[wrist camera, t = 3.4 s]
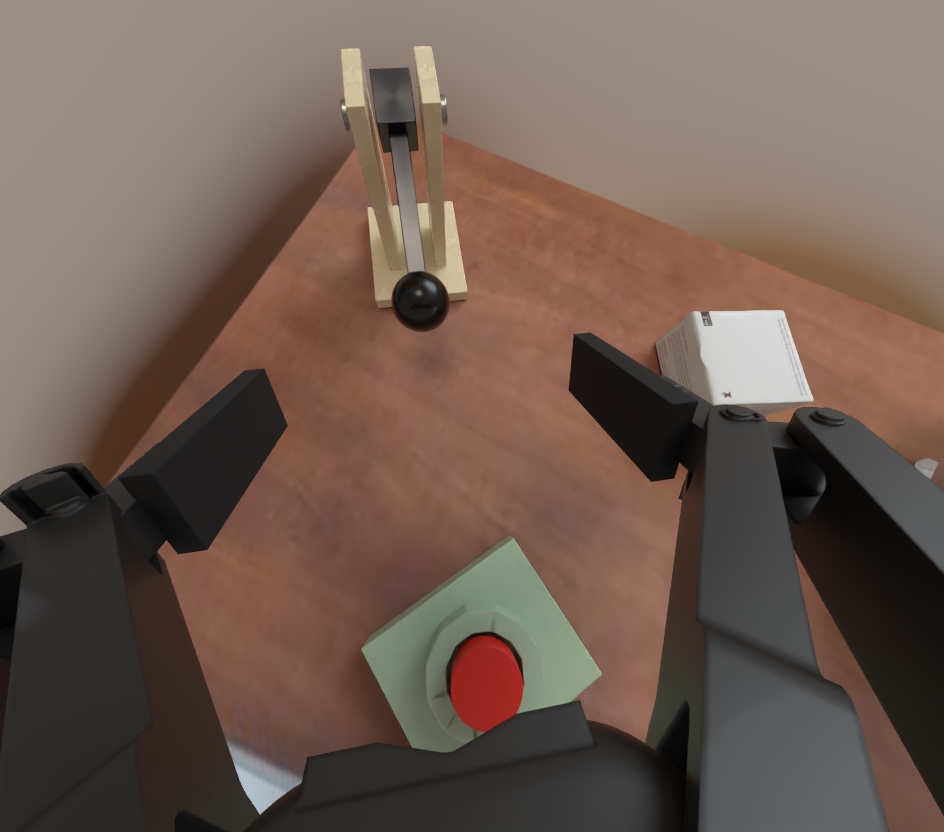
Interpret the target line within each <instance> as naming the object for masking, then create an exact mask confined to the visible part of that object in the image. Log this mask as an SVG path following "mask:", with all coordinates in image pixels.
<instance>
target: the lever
mask: <svg viewBox="0 0 944 832" xmlns="http://www.w3.org/2000/svg"><path fill="white" fill-rule="evenodd" d="M370 79H371V86H372V92H373V100H374V107H375V115H376V122H377V127H378V131H379V135H380V139H381V144H382V148H383V152H384V153H388V152H391V154H392V162H393V169H394V176H395V184H396V191H397V198H398V206H399V213H400V220H401V228H402V235H403V243H404V250H405V257H406V265H407V272H408V274H406V275H404V276H403V277H401V278H400V279H399V280H398V282H397V283H396V285H395V286H394V289H393V292H392V297H391V303H392V308H393V311H394V314H395V316H396V317H397V319H398V320H399V321H400V323H402V324H403V325H404V326H405V327H407V328H408V329H410V330H413V331H417V332H427V331H431V330H433V329H435V328H437V327H438V326H440V325H441V324H442V323H443V321H444V320H445V318H446V316H447V314H448V311H449V306H450V300H449V294H448V291H447V289H446V287H445V286H444V284H443V283H442V282H441V280H440V279H439V278H437V277H436V276H435V275H433V274H431V273H428V272H426V269H425V262H424V254H423V246H422V239H421V231H420V223H419V216H418V208H417V200H416V193H415V185H414V177H413V170H412V162H411V154H410V151H418V138H417V126H416V118H415V109H414V102H413V93H412V86H411V78H410V70H409V68H386V69H370Z"/></svg>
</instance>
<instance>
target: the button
mask: <svg viewBox="0 0 944 832" xmlns="http://www.w3.org/2000/svg"><path fill="white" fill-rule="evenodd" d="M522 697H523V680H522V676H521V672H520V670H519V667H518V665H517V662H516V660H515V657H514V655H513V653H512V651H511V650H510V648H509V647H508V646H507V645H506V644H505V643H504V642H503V641H501V640H500V639H498V638H496V637H493V636H489V635H481V636H476V637H473V638H471V639H469V640H468V641H466V642H465V643H464V644H463V645H462V646H461V647H460V648H459V650H458V651H457V653H456V655H455V657H454V660H453V663H452V668H451V699H452V703H453V706H454V709H455V711H456V713H457V715H458V716H459V718H460V719H461V720H462V721H463V722H464V723H465V724H466V725H467V726H469V727H470V728H472V729H474V730H477V731H480V732H486V731H488V730H490V729H491V728H493V727H495V726H496V725H498V724H500V723H501V722H503V721H505V720H506V719H508V718H510V717H512V716H513V715H515V714H516V713H517V712H518V710H519V707H520V705H521V702H522Z"/></svg>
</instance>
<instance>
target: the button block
mask: <svg viewBox="0 0 944 832" xmlns="http://www.w3.org/2000/svg"><path fill="white" fill-rule="evenodd" d="M481 635H489V636H493V637H496V638H498V639H500V640H501V641H503V642H504V643H505V644H506V645H507V646H508V647H509V648H510V650H511V651H512V653H513V655H514V657H515V660H516V662H517V665H518V667H519V670H520V672H521V676H522V680H523V697H522V702H521V705H520V707H519V710H518V712H517V713H521V712H526V711H531V710H536V709H541V708H545V707H550V706H555V705H560V704H564V703H569V702H571V701H572V700H573V699H574V698H575V697H577V696H578V695H579V694H580V693H581V692H582V691H583V690H585V689H586V688H587V687H588V686H589V685H590V684H591V683H593V682H594V681H595V680H596V679H597V678H598V677H599V676H601V671H600V670H599V668H598V667H597V665H596V664H595V662H594V661H593V659H592V658H591V656H590V654H589V653H588V651H587V650H586V648H585V647H584V645H583V644H582V642H581V641H580V639H579V638H578V636H577V635H576V633H575V631H574V630H573V628H572V627H571V625H570V624H569V622H568V621H567V619H566V618H565V616H564V615H563V613H562V611H561V610H560V608H559V607H558V605H557V604H556V602H555V601H554V599H553V598H552V596H551V595H550V593H549V592H548V590H547V588H546V587H545V585H544V584H543V582H542V581H541V579H540V578H539V576H538V575H537V573H536V572H535V570H534V569H533V567H532V565H531V564H530V562H529V561H528V559H527V558H526V556H525V555H524V553H523V552H522V550H521V549H520V547H519V545H518V544H517V542H516V541H515V539H514V538H512V537H510V536H507V537H505V538H504V539H503V540H501V541H500V542H498V543H497V544H496V545H494V546H493V547H492V548H490V549H489V550H487V551H486V552H485V553H483V554H482V555H480V556H479V557H478V558H476V559H475V560H474V561H472V562H471V563H469V564H468V565H467V566H465V567H464V568H463V569H461V570H460V571H458V572H457V573H456V574H454V575H453V576H451V577H450V578H449V579H447V580H446V581H445V582H443V583H442V584H440V585H439V586H438V587H436V588H435V589H434V590H432V591H431V592H429V593H428V594H427V595H425V596H424V597H422V598H421V599H420V600H418V601H417V602H416V603H414V604H413V605H411V606H410V607H409V608H407V609H406V610H405V611H403V612H402V613H400V614H399V615H398V616H396V617H395V618H393V619H392V620H391V621H389V622H388V623H387V624H385V625H384V626H382V627H381V628H380V629H378V630H377V631H375V632H374V633H373V634H371V635H370V636H369V638H368V639H367V641H366V642H365V644H364V645H363V647H362V648H361V650H362V652H363V654H364V656H365V658H366V660H367V662H368V664H369V666H370V668H371V670H372V672H373V674H374V675H375V677H376V679H377V681H378V683H379V685H380V687H381V689H382V691H383V693H384V695H385V697H386V699H387V701H388V702H389V704H390V706H391V708H392V710H393V712H394V714H395V716H396V718H397V720H398V722H399V724H400V726H401V728H402V729H403V731H404V733H405V735H406V737H407V739H408V741H409V743H410V745H411V747H412V748H417V749H424V750H430V751H437V752H451V751H454V750H456V749H458V748H460V747H461V746H463V745H465V744H466V743H468V742H470V741H471V740H473V739H475V738H476V737H478V736H480V735H481V734H483V733H485V732H480V731H477V730H474V729H472V728H470V727H469V726H467V725H466V724H465V723H464V722H463V721H462V720H461V719H460V718H459V716H458V715H457V713H456V711H455V709H454V706H453V703H452V699H451V668H452V663H453V660H454V657H455V655H456V653H457V651H458V650H459V648H460V647H461V646H462V645H463V644H464V643H465V642H466V641H468V640H469V639H471V638H473V637H476V636H481ZM517 713H516V714H517Z"/></svg>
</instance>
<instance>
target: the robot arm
mask: <svg viewBox="0 0 944 832" xmlns="http://www.w3.org/2000/svg"><path fill="white" fill-rule="evenodd" d="M569 391H570V392H571V393H572V395H573V396H574V397H575V398H576V399H577V400H578V401H579V402H580V403H581V405H582V406H583V407H584V408H585V409H586V410H587V411H588V412H589V413H590V415H591V416H592V417H593V418H594V419H595V420H596V421H597V422H598V423H599V425H600V426H601V427H602V428H603V429H604V430H605V431H606V432H607V433H608V435H609V436H610V437H611V438H612V439H613V440H614V441H615V442H616V443H617V445H618V446H619V447H620V448H621V449H622V450H623V451H624V452H625V453H626V455H627V456H628V457H629V458H630V459H631V460H632V461H633V462H634V463H635V464H636V466H637V467H638V468H639V469H640V470H641V471H642V472H643V473H644V474H645V476H646V477H647V478H648V479H649V480H650V481H651V482H653V481H660V480H666V479H673V478H674V477H675V474H676V471H677V468H678V464H679V463H681V464H682V465H683V466H684V467H685V468H686V469H687V470H688V472H687V475H686V478H685V481H684V484H683V487H682V490H681V493H680V496H679V499H682V505H681V513H680V520H679V528H678V536H677V543H676V551H675V559H674V566H673V574H672V582H671V589H670V597H669V604H668V612H667V620H666V627H665V635H664V643H663V650H662V658H661V666H660V673H659V681H658V688H657V695H656V700H655V705H654V709H653V713H652V717H651V720H650V724H649V729H648V733H647V738H646V744H645V743H644V742H642V741H640V740H639V739H637V738H635V737H634V736H632V735H630V734H628V733H626V732H624V731H621V730H619V729H617V728H615V727H613V726H609V725H606V724H603V723H599V722H596V721H590V720H586V718H585V715H584V712H583V709H582V706H581V703H580V700H579V701H574V702H569V703H564V704H560V705H555V706H550V707H545V708H541V709H536V710H531V711H526V712H521V713H517V714H515V715H513V716H512V717H510V718H508V719H506V720H505V721H503V722H501V723H500V724H498V725H496V726H495V727H493V728H491V729H490V730H488V731H486V732H485V733H483V734H481V735H480V736H478V737H476V738H475V739H473V740H471V741H470V742H468V743H466V744H465V745H463V746H461V747H460V748H458V749H456V750H454V751H451V752H437V751H430V750H424V749H417V748H410V747H404V746H397V745H390V744H384V743H373V744H368V745H364V746H359V747H354V748H349V749H344V750H340V751H335V752H330V753H325V754H321V755H316V756H311V757H307V761H306V765H305V770H304V775H303V780H302V783H301V784H299V785H298V786H296V787H294V788H293V789H292V790H290V791H289V792H287V793H286V794H285V795H283V796H282V797H281V798H279V799H278V800H276V801H275V802H274V803H273V804H272V805H271V806H270V807H268V809H266V810H265V811H264V812H263V813H262V814H260V815H259V813H258V811H257V810H256V808H255V807H254V805H253V804H252V802H251V801H250V799H249V798H248V796H247V795H246V793H245V791H244V789H243V787H242V785H241V783H240V780H239V778H238V775H237V772H236V769H235V766H234V763H233V760H232V757H231V754H230V751H229V748H228V745H227V742H226V739H225V737H224V734H223V731H222V728H221V725H220V722H219V719H218V716H217V713H216V710H215V707H214V704H213V701H212V698H211V696H210V693H209V690H208V687H207V684H206V681H205V678H204V675H203V672H202V669H201V666H200V663H199V660H198V657H197V654H196V652H195V649H194V646H193V643H192V640H191V637H190V634H189V631H188V628H187V625H186V622H185V619H184V616H183V613H182V611H181V608H180V605H179V602H178V599H177V596H176V593H175V590H174V587H173V584H172V581H171V578H170V575H169V572H168V570H167V567H166V564H165V561H164V560H163V558H162V557H161V556H160V555H159V554H158V552H157V551H158V550H159V548H160V547H161V546H162V545H163V543H164V542H165V541H166V540H167V541H168V542H169V543H170V545H171V546H172V547H173V548H174V550H175V551H176V552H177V553H178V554H183V553H190V552H196V551H203V550H208V548H209V547H210V545H211V544H212V542H213V540H214V539H215V537H216V536H217V534H218V533H219V531H220V530H221V528H222V526H223V525H224V523H225V522H226V520H227V519H228V517H229V516H230V514H231V513H232V511H233V509H234V508H235V506H236V505H237V503H238V502H239V500H240V499H241V497H242V496H243V494H244V492H245V491H246V489H247V488H248V486H249V485H250V483H251V482H252V480H253V479H254V477H255V475H256V474H257V472H258V471H259V469H260V468H261V466H262V465H263V463H264V462H265V460H266V458H267V457H268V455H269V454H270V452H271V451H272V449H273V448H274V446H275V445H276V443H277V441H278V440H279V438H280V437H281V435H282V434H283V432H284V431H285V429H286V427H287V426H288V425H287V423H286V420H285V418H284V415H283V413H282V410H281V408H280V406H279V403H278V401H277V398H276V396H275V393H274V391H273V389H272V386H271V384H270V381H269V379H268V377H267V374H266V372H265V369H255V370H246V371H244V372H242V373H241V374H240V375H239V376H238V377H236V378H235V379H234V380H233V381H232V382H231V383H229V384H228V385H227V386H226V387H225V388H223V389H222V390H221V391H220V392H219V393H218V394H216V395H215V396H214V397H213V398H212V399H210V400H209V401H208V402H207V403H206V404H205V405H203V406H202V407H201V408H200V409H199V410H197V411H196V412H195V413H194V414H193V415H192V416H190V417H189V418H188V419H187V420H186V421H184V422H183V423H182V424H181V425H180V426H179V427H177V428H176V429H175V430H174V431H173V432H171V433H170V434H169V435H168V436H167V437H166V438H164V439H163V440H162V441H161V442H159V443H157V444H156V445H155V446H154V447H152V448H151V449H150V450H149V451H148V452H146V453H145V455H144V456H142V457H140V458H139V459H138V460H137V461H136V462H135V463H134V465H131V466H130V467H129V468H127V469H126V470H125V471H124V472H123V473H121V474H120V475H119V476H118V477H117V478H116V479H114V480H113V481H112V482H111V483H110V484H108V485H107V486H106V487H105V488H103V487H102V486H101V485H100V484H99V482H98V481H97V480H96V479H95V478H94V476H93V475H92V474H91V473H90V472H89V471H88V469H87V468H86V467H85V466H84V465H83V464H82V463H69V464H64V465H59V466H56V467H53V468H49V469H46V470H43V471H41V472H38V473H35V474H33V475H31V476H28V477H26V478H24V479H22V480H21V481H19V482H17V483H15V484H13V485H12V486H10V487H9V488H7V489H6V490H5V491H3V492H2V493H1V495H0V501H1V502H2V503H3V504H4V505H5V506H6V507H7V508H8V509H9V510H10V511H12V512H13V513H14V514H15V515H16V516H17V517H18V518H19V519H20V520H21V521H22V522H23V523H25V524H26V525H27V529H24V530H20V531H17V532H14V533H10V534H7V535H4V536H0V832H889V830H888V826H887V822H886V819H885V815H884V811H883V807H882V803H881V800H880V796H879V792H878V788H877V785H876V781H875V777H874V773H873V770H872V766H871V762H870V758H869V754H868V751H867V747H866V743H865V739H864V736H863V732H862V728H861V724H860V721H859V717H858V715H857V712H856V710H855V707H854V704H853V702H852V699H851V698H850V696H849V695H848V694H847V693H846V691H845V690H844V689H843V687H842V686H840V685H838V684H836V683H833V682H831V681H829V680H827V679H824V677H823V676H822V675H821V673H820V670H819V667H818V664H817V660H816V655H815V650H814V645H813V641H812V636H811V631H810V626H809V621H808V616H807V612H806V607H805V602H804V597H803V592H802V587H801V582H800V578H799V573H798V568H797V563H796V558H795V553H794V550H795V552H796V554H797V556H798V557H799V559H800V561H801V563H802V565H803V566H804V568H805V570H806V572H807V573H808V575H809V577H810V579H811V581H812V582H813V584H814V586H815V588H816V590H817V591H818V593H819V595H820V597H821V598H822V600H823V602H824V604H825V606H826V607H827V609H828V611H829V613H830V614H831V616H832V618H833V620H834V622H835V623H836V625H837V627H838V629H839V630H840V632H841V634H842V636H843V638H844V639H845V641H846V643H847V645H848V646H849V648H850V650H851V652H852V654H853V655H854V657H855V659H856V661H857V662H858V664H859V666H860V668H861V670H862V671H863V673H864V675H865V677H866V678H867V680H868V682H869V684H870V686H871V687H872V689H873V691H874V693H875V694H876V696H877V698H878V700H879V702H880V703H881V705H882V707H883V709H884V710H885V712H886V714H887V716H888V718H889V719H890V721H891V723H892V725H893V727H894V728H895V730H896V732H897V734H898V735H899V737H900V739H901V741H902V743H903V744H904V746H905V748H906V750H907V751H908V753H909V755H910V757H911V759H912V760H913V762H914V764H915V766H916V767H917V769H918V771H919V773H920V775H921V776H922V778H923V780H924V782H925V783H926V785H927V787H928V789H929V791H930V792H931V794H932V796H933V798H934V799H935V801H936V803H937V805H938V807H939V808H940V810H941V812H942V814H943V815H944V491H943V490H942V489H941V488H940V487H938V486H937V485H936V484H935V483H934V482H932V481H931V480H930V479H929V478H928V477H926V476H925V475H924V474H923V473H922V472H920V471H919V470H918V469H917V468H915V467H914V466H913V465H912V464H911V463H909V462H908V461H907V460H906V459H905V458H903V457H902V456H901V455H900V454H899V453H897V452H896V451H895V450H894V449H892V448H891V447H890V446H889V445H888V444H886V443H885V442H884V441H883V440H882V439H880V438H879V437H878V436H877V435H876V434H874V433H873V432H872V431H871V430H869V429H868V428H867V427H866V426H865V425H863V424H862V423H861V422H860V421H858V420H856V419H855V418H853V417H851V416H849V415H846V414H843V413H842V412H841V411H838V410H832V409H830V408H818V407H803V408H798V409H797V410H796V411H795V412H794V414H793V416H792V418H791V420H790V422H789V423H782V422H767V420H766V419H765V417H764V416H763V415H761V414H760V413H758V412H756V411H754V410H751V409H749V408H746V407H741V406H737V405H729V404H721V405H715V406H714V405H712V404H711V403H709V402H708V401H706V400H704V399H703V398H701V397H699V396H698V395H696V394H695V393H693V392H691V391H689V390H688V389H686V388H685V387H683V386H680V384H678V383H677V382H675V381H673V380H672V379H670V378H667V377H665V376H662V375H659V374H656V373H654V372H652V371H650V370H649V369H647V368H646V367H644V366H643V365H641V364H639V363H638V362H636V361H635V360H633V359H631V358H630V357H628V356H627V355H625V354H624V353H622V352H620V351H619V350H617V349H616V348H614V347H613V346H611V345H609V344H608V343H606V342H605V341H603V340H601V339H600V338H598V337H597V336H595V335H594V334H592V333H582V334H574V338H573V349H572V360H571V371H570V382H569Z"/></svg>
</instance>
